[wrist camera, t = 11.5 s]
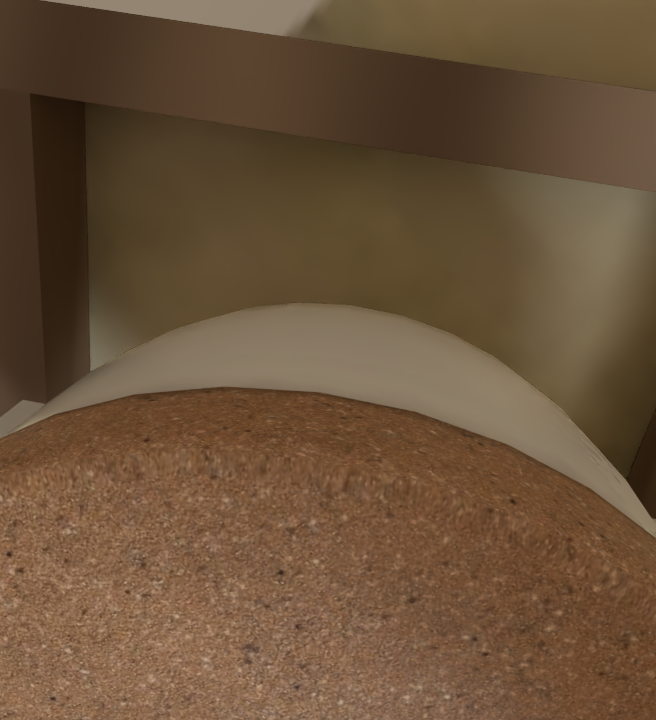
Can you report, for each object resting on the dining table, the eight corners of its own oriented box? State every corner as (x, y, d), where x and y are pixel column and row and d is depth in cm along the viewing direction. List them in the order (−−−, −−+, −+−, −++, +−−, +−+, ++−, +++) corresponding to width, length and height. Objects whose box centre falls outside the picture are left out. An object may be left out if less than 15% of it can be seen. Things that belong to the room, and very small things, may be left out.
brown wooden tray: (49, 607, 19) (11, 661, 17) (10, 1, 12) (-59, -15, 11) (584, 719, 18) (603, 789, 16) (859, 128, 11) (943, 134, 10)
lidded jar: (379, 101, 11) (278, 130, 2) (689, 520, 13) (1230, 1324, 5) (10, 425, 14) (-596, 935, 6) (310, 705, 17) (212, 1351, 8)
